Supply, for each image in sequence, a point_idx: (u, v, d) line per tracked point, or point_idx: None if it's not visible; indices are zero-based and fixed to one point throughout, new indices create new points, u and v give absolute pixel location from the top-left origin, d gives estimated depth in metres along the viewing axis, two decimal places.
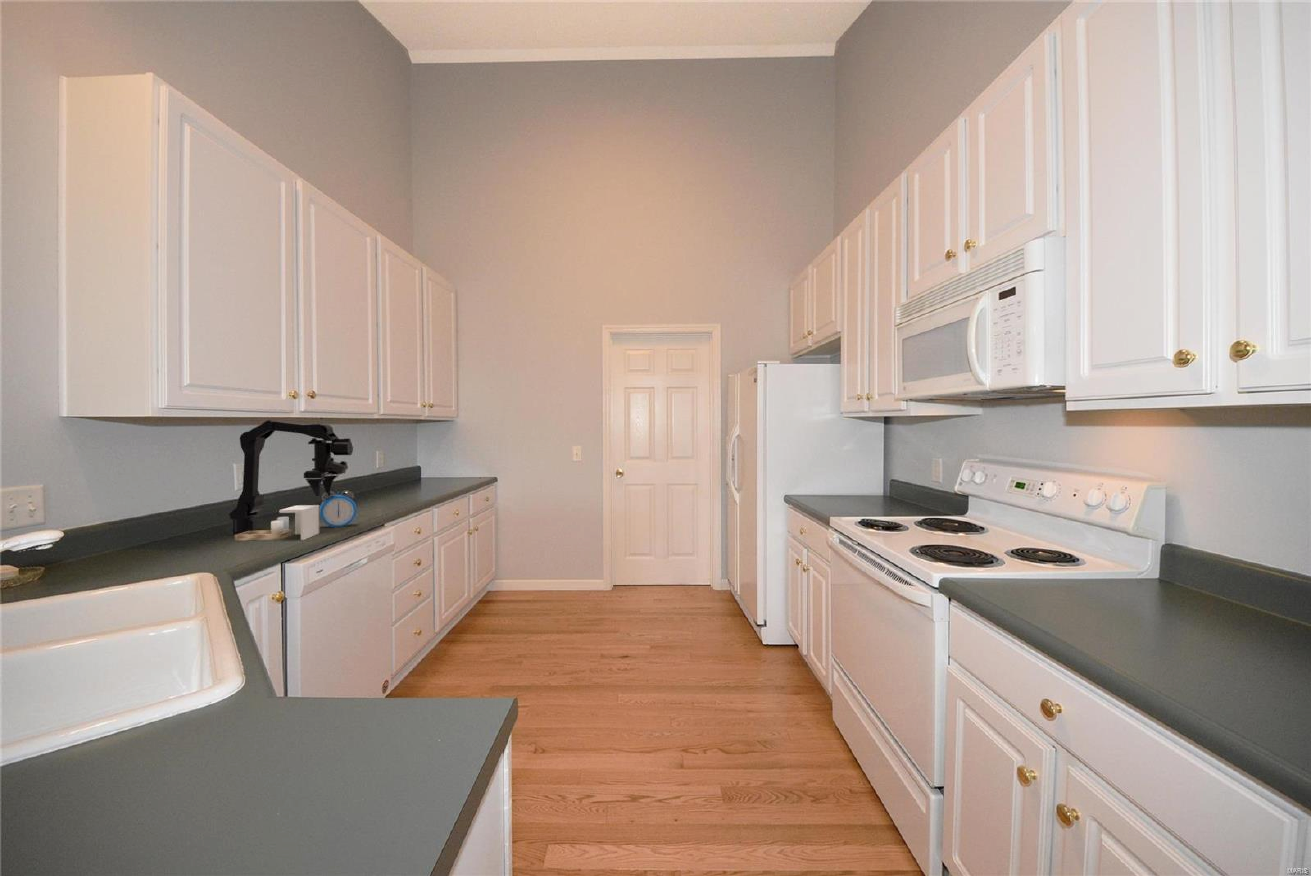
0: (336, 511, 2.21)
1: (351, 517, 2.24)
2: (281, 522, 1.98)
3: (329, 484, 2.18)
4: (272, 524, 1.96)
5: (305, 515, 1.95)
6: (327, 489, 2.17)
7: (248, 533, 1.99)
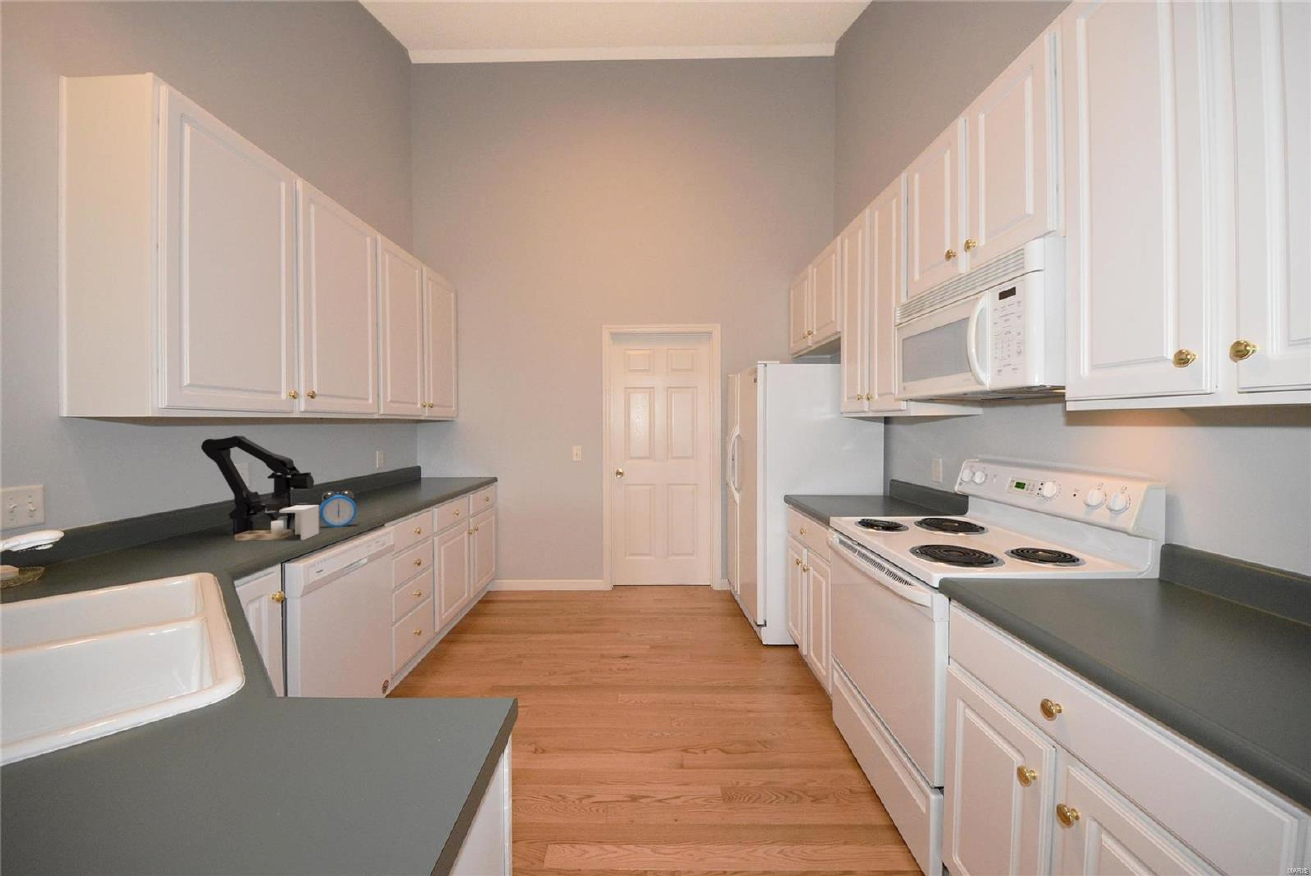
0: (336, 511, 2.21)
1: (351, 517, 2.24)
2: (281, 522, 1.98)
3: None
4: (272, 524, 1.96)
5: (305, 515, 1.95)
6: None
7: (248, 533, 1.99)
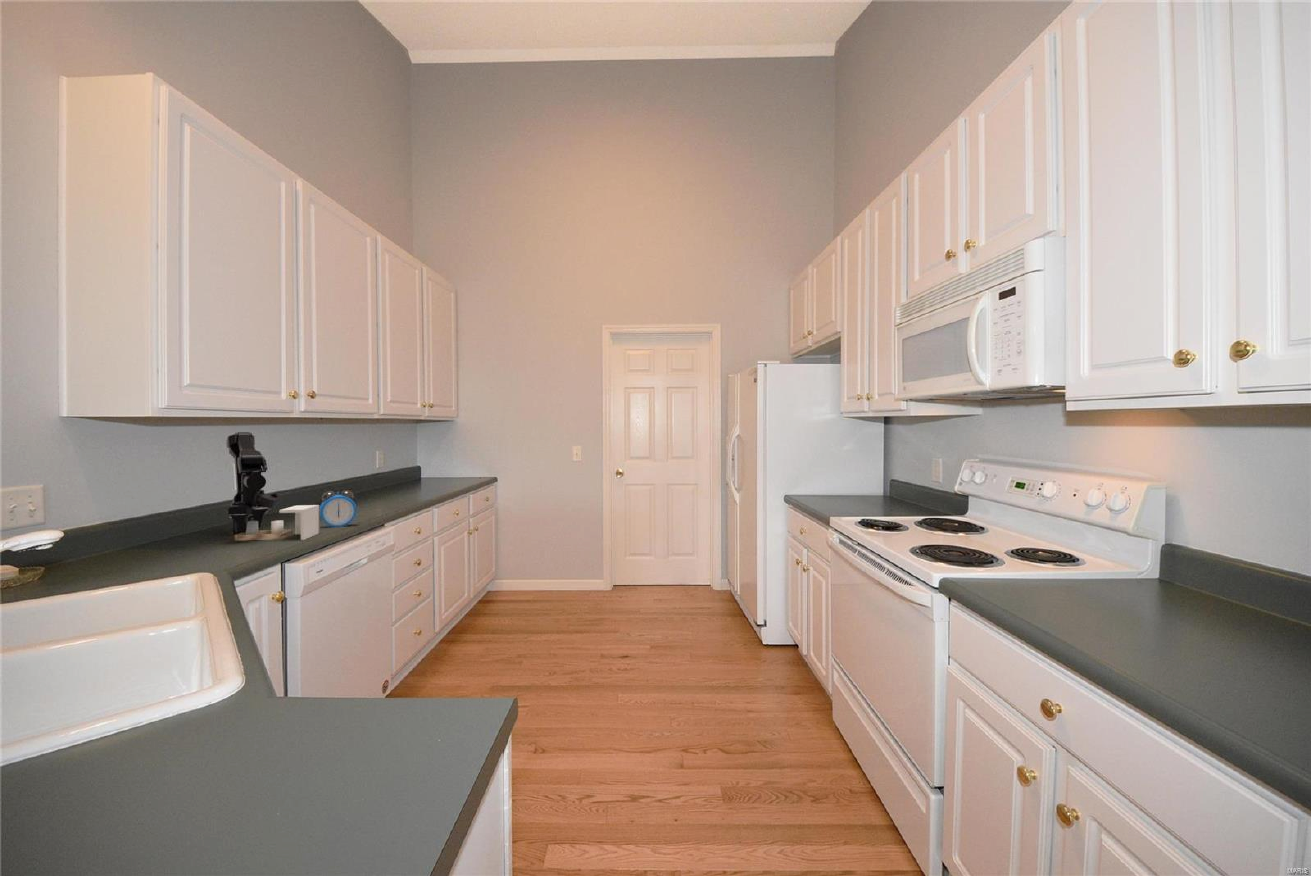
0: (336, 511, 2.21)
1: (351, 517, 2.24)
2: (281, 522, 1.98)
3: (260, 518, 2.02)
4: (272, 524, 1.96)
5: (305, 515, 1.95)
6: (258, 523, 2.01)
7: None
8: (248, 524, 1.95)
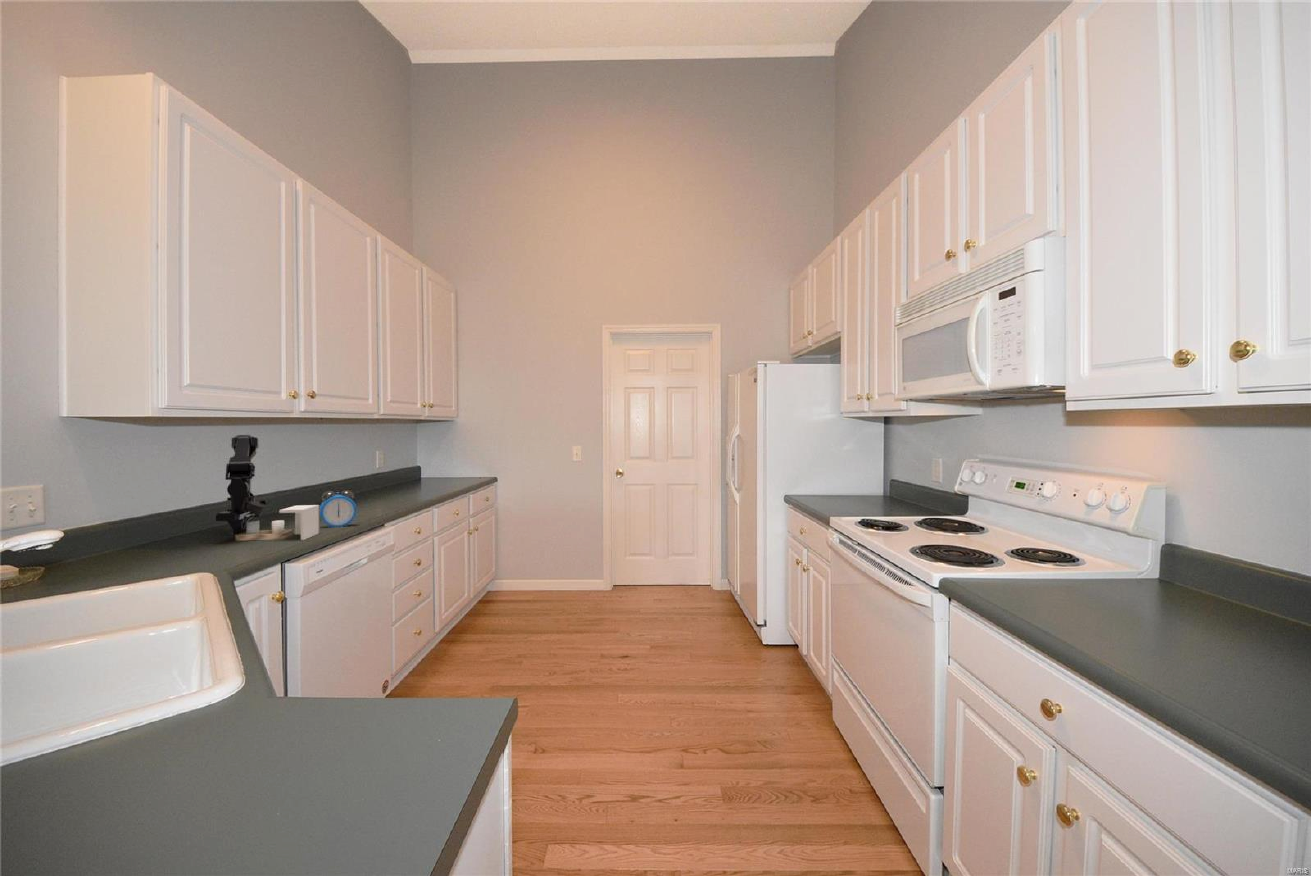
0: (336, 511, 2.21)
1: (351, 517, 2.24)
2: (282, 522, 1.98)
3: None
4: (273, 524, 1.97)
5: (305, 515, 1.95)
6: None
7: None
8: (249, 524, 1.95)
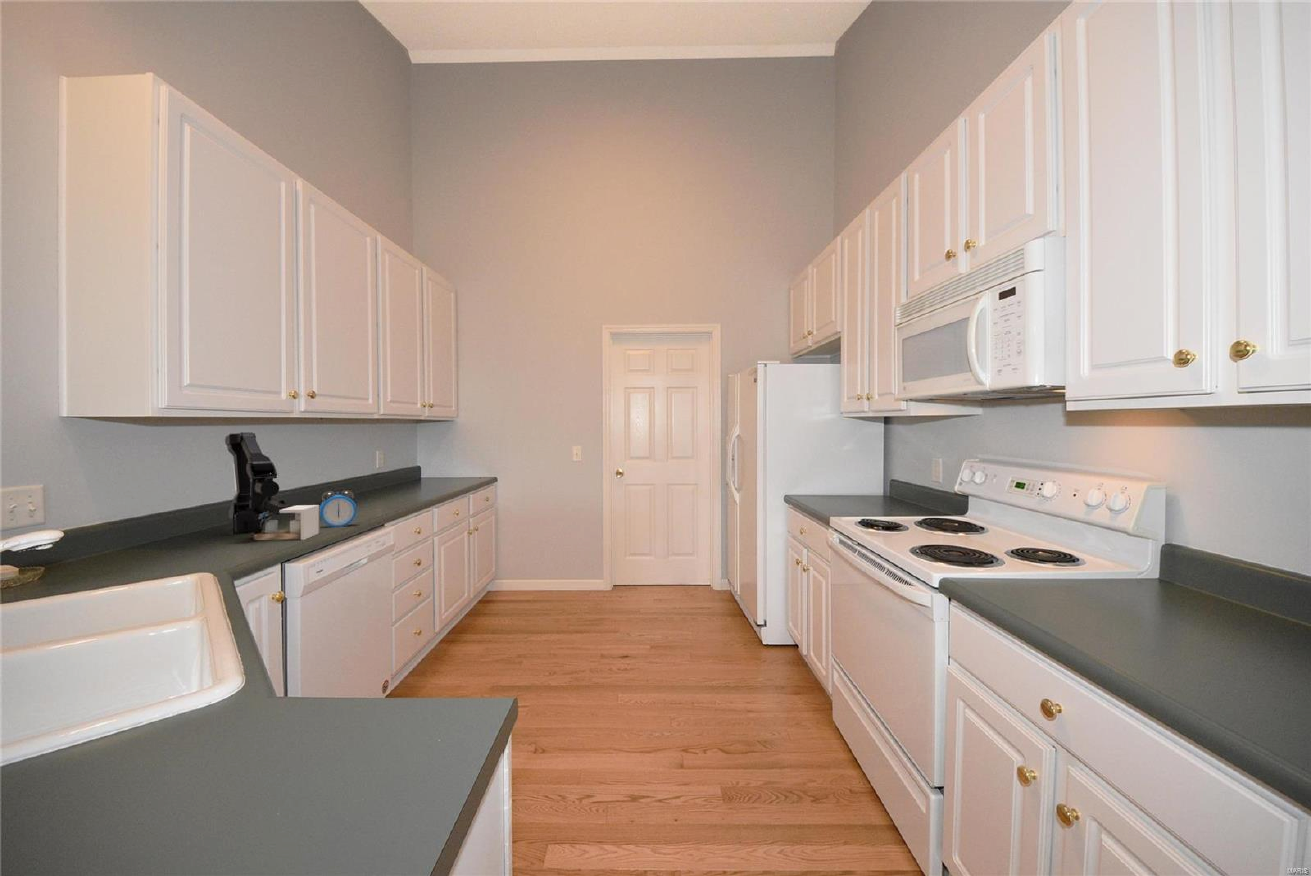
0: (336, 511, 2.21)
1: (351, 517, 2.24)
2: (300, 522, 1.99)
3: None
4: (291, 524, 1.97)
5: (305, 515, 1.95)
6: None
7: None
8: (268, 523, 1.96)
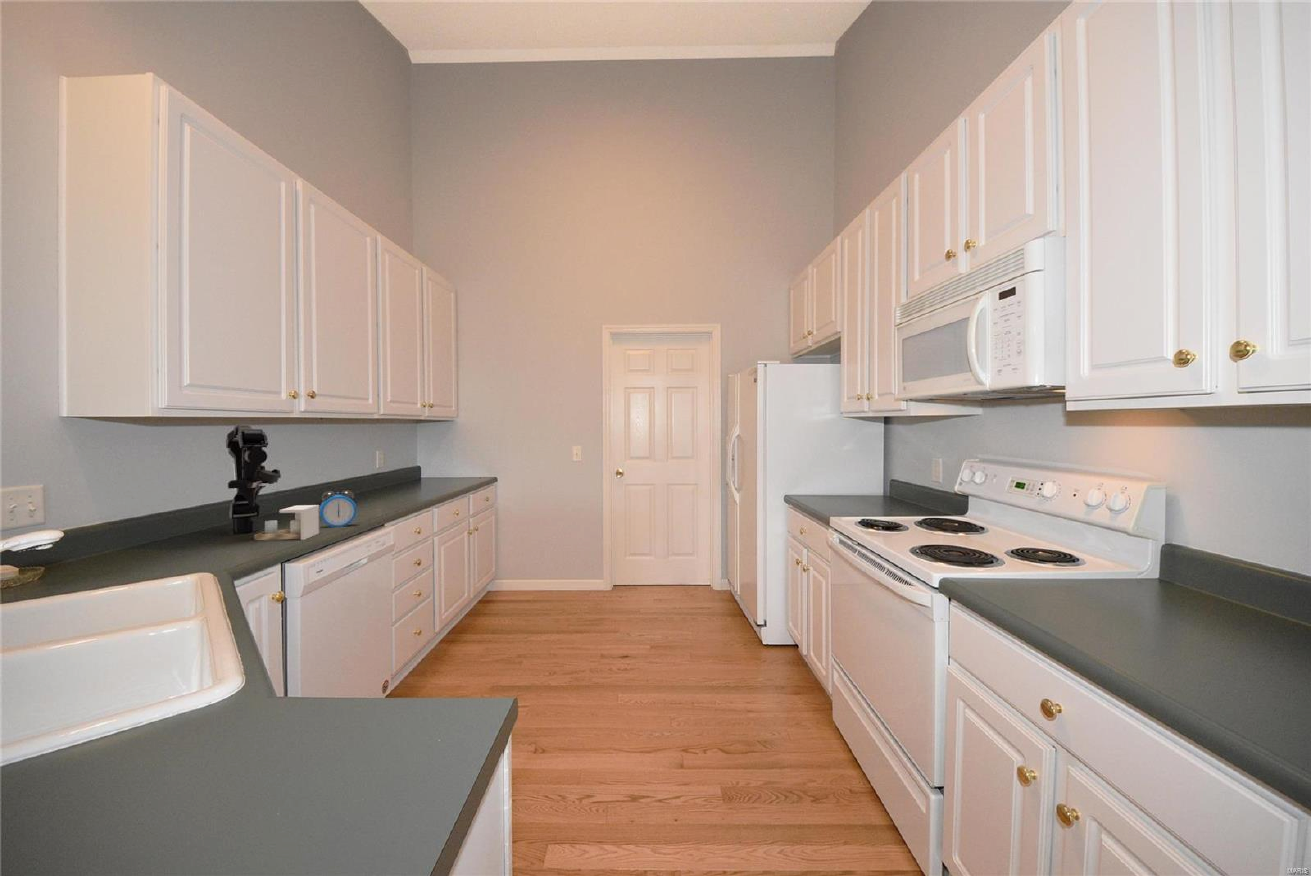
0: (336, 511, 2.21)
1: (351, 517, 2.24)
2: (300, 522, 1.99)
3: None
4: (291, 524, 1.98)
5: (305, 515, 1.95)
6: None
7: None
8: (267, 524, 1.96)
